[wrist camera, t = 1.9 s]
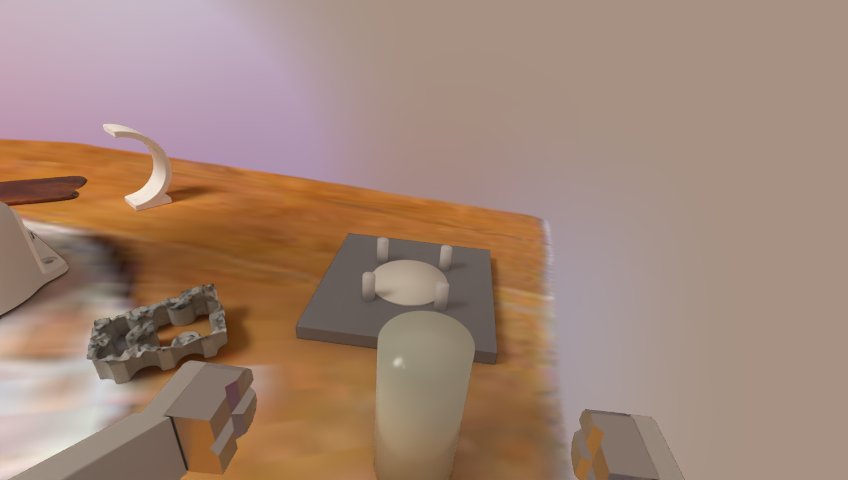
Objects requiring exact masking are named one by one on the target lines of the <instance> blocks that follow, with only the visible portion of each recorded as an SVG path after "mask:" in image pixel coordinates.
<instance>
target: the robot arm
mask: <svg viewBox="0 0 848 480" xmlns="http://www.w3.org/2000/svg"><path fill="white" fill-rule="evenodd" d="M68 269H69V267H68V265H67V264H66V262H65V260H63V259H62V258H61V257H60V256H59V255H58V254H57V253H55V252H54V251H53V250H52V249H51V248H50V247H48V246H47V245H46V244H45V243H44V242H43V241H42V240H40V239H39V238H38V237H37V236H36V235H35V234H33V233H32V232H31V231H30V230H29V229H28V228H27V227H25V226H24V224H23V222H22V219H21V217H20V215H19V213H18V212H17V210H16V209H10V207H9V206H8V205H7V204H5V203H3V202H1V201H0V315H2V314H4V313H6V312H7V311H9V310H11V309H13V308H15V307H16V306H18V305H19V304H21V303H22V302H24V301H25V300H27V299H28V298H29V297H30V296H32V295H33V294H34V293H35V292H36V291H37V290H38V289H39V288H40V287H41V286H43V285H44V284H45V283H47V282H49V281H51V280H53V279H55V278H56V277H58V276H60V275H62V274H63V273H65V272H66V271H67V270H68ZM252 381H253V375H252V370H251V369H248V368H242V367H235V366H228V365H222V364H215V363H207V362H200V361H193V360H190V361H188V362H186V363H184V364H183V365H182V366H181V367H180V368H179V370H178V371H177V372H176V373H175V374H174V375H173V376H172V378H171V379H170V380H169V381H168V382H167V383H166V385H165V386H164V387H163V388H162V389H161V390H160V392H159V393H158V394H157V395H156V396H155V397H154V398H153V400H152V401H151V402H150V403H149V404H148V405H147V407H146V408H145V409H144V410H143V411H142V412H141V413H133V414H131V415H129V416H127V417H125V418H123V419H122V420H120V421H118V422H116V423H114V424H112V425H110V426H108V427H107V428H105V429H103V430H101V431H99V432H97V433H95V434H93V435H91V436H90V437H88V438H86V439H84V440H82V441H80V442H78V443H76V444H75V445H73V446H71V447H69V448H67V449H65V450H63V451H61V452H59V453H58V454H56V455H54V456H52V457H50V458H48V459H46V460H44V461H43V462H41V463H39V464H37V465H35V466H33V467H31V468H29V469H28V470H26V471H24V472H22V473H20V474H18V475H16V476H14V477H12V478H11V479H9V480H179V479H181V478H182V477H183V476H184V475H186V474H187V471H191V472H201V473H210V474H220V475H223V474H224V472H225V470H226V469H227V467H228V465H229V463H230V461H231V460H232V458H233V456H234V454H235V452H236V451H237V449H238V448H237V443H236V439H237V438H239V437H240V436H242V435H243V434H245V433H246V432H247V431H248V429H249V427H250V425H251V423H252V421H253V418H254V414H255V411H256V403H257V398H256V392H255V391H254V390H253V389H252V388H251V387H250V385H251V383H252ZM580 424H581V428H582V429H580V430H579V431H577V432H575V434H574V437H573V441H572V450H571V457H572V465H573V469H574V474H575V476H576V477H577V478H578V479H579V480H685V479H684V477H683V475H682V473H681V471H680V469H679V467H678V465H677V463H676V461H675V459H674V457H673V455H672V453H671V451H670V449H669V447H668V445H667V443H666V441H665V439H664V437H663V435H662V433H661V431H660V429H659V427H658V425H657V423H656V421H655V420H654V419H653V418H652V417H647V416H639V415H630V414H629V415H627V414H622V413H614V412H605V411H595V410H587V409H585V410H584V411H583V412H582V415H581V417H580Z"/></svg>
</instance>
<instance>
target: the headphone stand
mask: <svg viewBox="0 0 848 480" xmlns="http://www.w3.org/2000/svg"><path fill="white" fill-rule="evenodd" d="M103 126H104V130H105V131H107V132H108V133H110V134H111V135H113V136H114V137H116V138H118V137H128V138H134V139H137V140H140V141H142V142H144V144H145V145H146V146H147V147H148V148H149V150H150V152H151V154H152V157H153V162H154V168H153V173H152V176H151V178H150V180H149V181H148V183H147V184H146V185H145V186H144V187H143V188H142V189H140V190H139V191H137V192H136V193H133V194H131V195H128V196H125V201H126V202H127V203H128V204H129V205H130V206H132V207H133V208H134V209H135V210H136V211H139V210H143V209H147V208H151V207H155V206H159V205H164V204H168V203H172V200H171V197H169V196H168V195H167V194H165V192H166V190H167V189H168V187H169V184H170V181H171V174H172V171H171V164H170V161H169V159H168V156H167V155H166V153H165V152H164V150H163V149H162V148H161V147H160V146H159V145H158V144H157V143H156V142H154V141H153V140H151V139H149V138H148V137H146V136H144V135H143V134H141V133H139V132H138V131H135V130H134V129H131V128H129V127H126V126H122V125H115V124H104V125H103Z"/></svg>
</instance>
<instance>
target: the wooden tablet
mask: <svg viewBox="0 0 848 480" xmlns="http://www.w3.org/2000/svg"><path fill="white" fill-rule="evenodd" d="M85 182H86V179H85V178H84V177H81V176H68V177H55V178H43V179H31V180H18V181H8V182H0V201H1V202H3V203H5V204H7V205H18V204H31V203H42V202H52V201H61V200H69V199H74V198H76V197H77V191H74V190H76V189H79V188H80V187H82V186H83V185H84V184H85Z"/></svg>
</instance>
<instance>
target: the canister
mask: <svg viewBox="0 0 848 480" xmlns="http://www.w3.org/2000/svg"><path fill="white" fill-rule="evenodd" d="M474 353H475V344H474V340H473V338H472V336H471V334H470V332H469V331H468V330H467V328H466V327H465V326H463V325H462V324H461V323H460V322H458V321H457V320H455V319H454V318H451V317H449V316H447V315H444V314H441V313H437V312H432V311H412V312H407V313H403V314H400V315H398V316H396V317H394V318H392V319H391V320H389V321H388V322H387V323H386V324H385V325H384V326H383V328H382V329H381V331H380V333H379V336H378V346H377V375H376V404H375V433H374V462H373V463H374V471H375V474H376V477H377V479H378V480H449V479H450V477H451V474H452V469H453V464H454V458H455V453H456V448H457V443H458V437H459V432H460V427H461V422H462V416H463V411H464V406H465V401H466V395H467V390H468V385H469V380H470V375H471V369H472V364H473V359H474Z"/></svg>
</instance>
